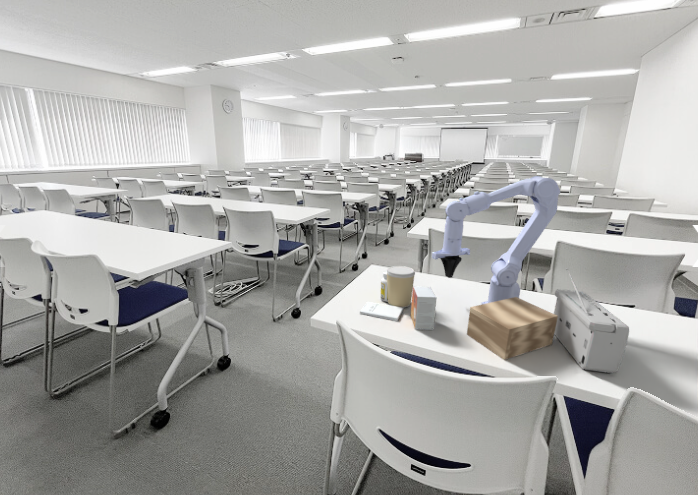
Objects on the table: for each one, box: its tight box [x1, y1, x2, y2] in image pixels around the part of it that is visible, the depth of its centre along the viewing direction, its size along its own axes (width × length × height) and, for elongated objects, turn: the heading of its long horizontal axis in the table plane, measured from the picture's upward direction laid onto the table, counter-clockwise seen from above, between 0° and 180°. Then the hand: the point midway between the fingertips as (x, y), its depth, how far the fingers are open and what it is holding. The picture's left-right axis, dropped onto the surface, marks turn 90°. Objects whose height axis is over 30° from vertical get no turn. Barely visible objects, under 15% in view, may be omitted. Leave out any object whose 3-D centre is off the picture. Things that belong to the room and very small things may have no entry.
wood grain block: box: [466, 297, 558, 361], centre depth 90 cm, size 18×13×9 cm
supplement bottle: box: [380, 270, 388, 303], centre depth 114 cm, size 5×5×10 cm
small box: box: [410, 285, 437, 331], centre depth 98 cm, size 8×6×10 cm
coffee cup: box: [386, 265, 416, 309], centre depth 111 cm, size 9×9×12 cm
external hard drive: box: [359, 301, 404, 322], centre depth 106 cm, size 2×8×12 cm
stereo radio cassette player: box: [553, 267, 630, 374], centre depth 84 cm, size 21×8×20 cm, turn 170°
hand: (448, 276), depth 112 cm, fingers closed
